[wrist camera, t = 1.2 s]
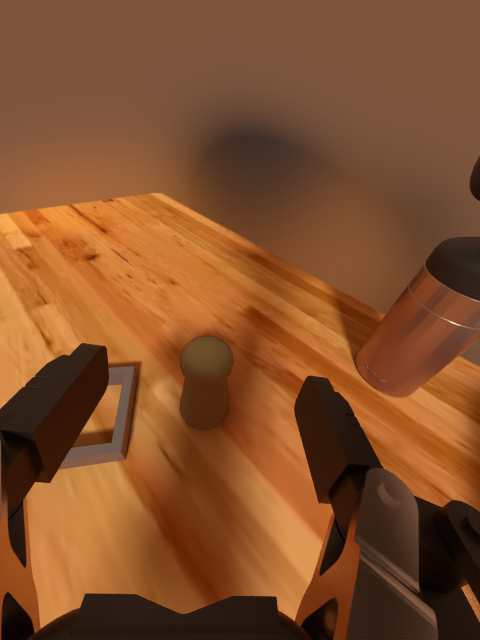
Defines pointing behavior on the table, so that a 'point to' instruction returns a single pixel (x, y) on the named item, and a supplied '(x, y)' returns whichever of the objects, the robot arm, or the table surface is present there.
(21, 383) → the table surface
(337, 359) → the table surface
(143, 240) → the table surface
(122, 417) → the square frame
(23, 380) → the table surface
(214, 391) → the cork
